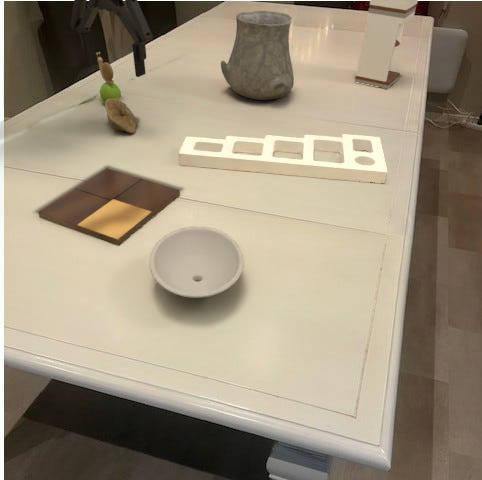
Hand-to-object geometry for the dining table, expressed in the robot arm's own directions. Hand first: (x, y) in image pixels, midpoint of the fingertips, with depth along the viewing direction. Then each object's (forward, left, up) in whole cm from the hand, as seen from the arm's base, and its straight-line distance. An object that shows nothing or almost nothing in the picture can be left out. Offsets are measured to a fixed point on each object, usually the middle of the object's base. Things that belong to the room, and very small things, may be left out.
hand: (116, 70), depth 110 cm
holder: (+40, +7, -14) cm, 43 cm away
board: (+20, -30, -14) cm, 39 cm away
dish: (+46, -42, -14) cm, 64 cm away
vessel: (+19, +40, -14) cm, 46 cm away
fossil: (0, 0, -14) cm, 14 cm away
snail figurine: (-13, +12, -14) cm, 22 cm away
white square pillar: (+45, +72, -14) cm, 86 cm away
